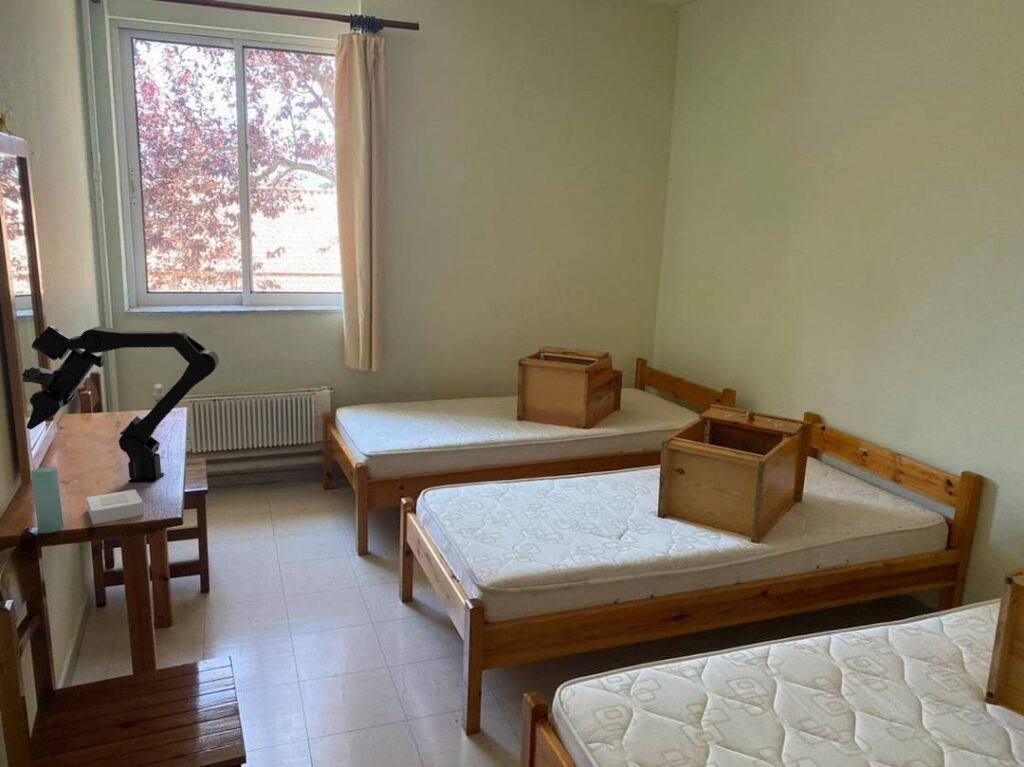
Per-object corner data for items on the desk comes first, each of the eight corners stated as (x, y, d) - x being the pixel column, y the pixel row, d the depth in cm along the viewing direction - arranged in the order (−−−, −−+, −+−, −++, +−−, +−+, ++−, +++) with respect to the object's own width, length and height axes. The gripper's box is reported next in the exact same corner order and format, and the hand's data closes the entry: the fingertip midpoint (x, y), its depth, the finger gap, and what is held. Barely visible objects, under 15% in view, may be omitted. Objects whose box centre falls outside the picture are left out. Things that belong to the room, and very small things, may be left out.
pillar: (62, 522, 158) (56, 465, 155) (64, 530, 154) (57, 471, 152) (37, 527, 156) (30, 469, 153) (38, 534, 152) (31, 475, 149)
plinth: (136, 501, 171) (135, 488, 171) (144, 514, 163) (142, 501, 163) (87, 510, 166) (86, 497, 165) (92, 524, 158) (91, 510, 157)
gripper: (50, 347, 184) (12, 398, 183) (28, 359, 166) (-13, 414, 166) (92, 372, 188) (56, 421, 187) (76, 385, 170) (35, 440, 170)
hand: (34, 424), depth 177 cm, fingers open, 9 cm apart
